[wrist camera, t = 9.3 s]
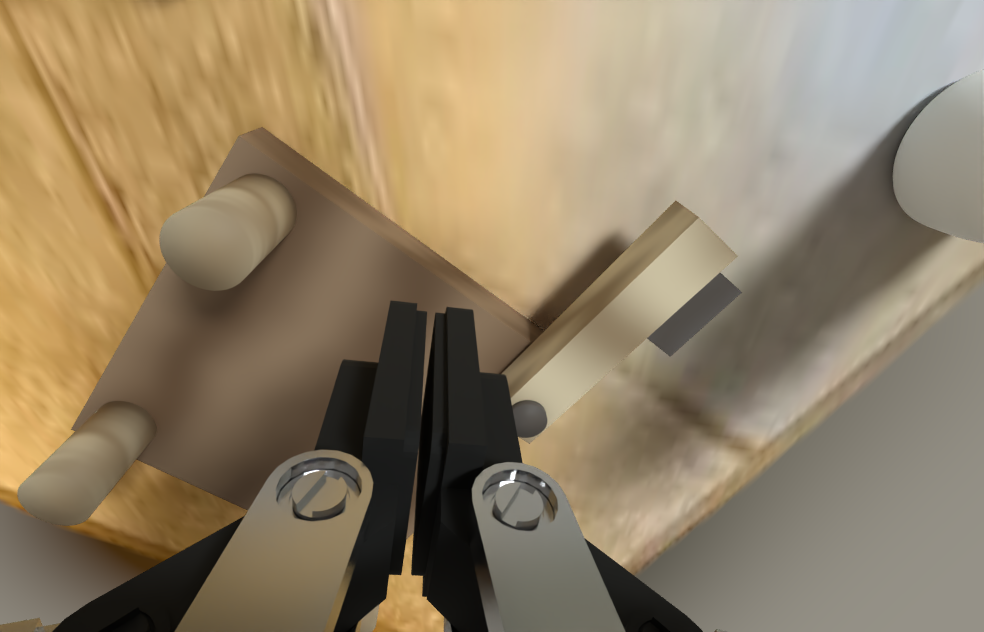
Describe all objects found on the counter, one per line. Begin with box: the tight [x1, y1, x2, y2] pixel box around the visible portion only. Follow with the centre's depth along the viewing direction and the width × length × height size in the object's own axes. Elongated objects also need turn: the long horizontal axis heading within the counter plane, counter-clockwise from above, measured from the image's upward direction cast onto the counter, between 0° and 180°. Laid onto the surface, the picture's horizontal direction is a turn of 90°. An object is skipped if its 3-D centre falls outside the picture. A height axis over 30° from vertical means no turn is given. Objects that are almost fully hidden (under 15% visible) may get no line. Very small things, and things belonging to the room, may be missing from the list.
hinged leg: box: [502, 201, 738, 444], centre depth 22 cm, size 12×2×3 cm, turn 140°
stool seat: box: [18, 127, 742, 632], centre depth 23 cm, size 19×26×8 cm
